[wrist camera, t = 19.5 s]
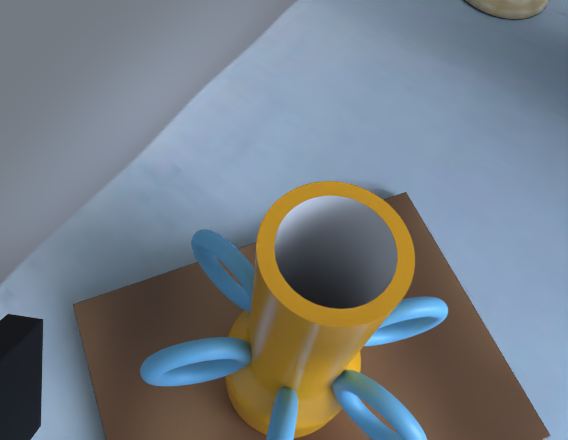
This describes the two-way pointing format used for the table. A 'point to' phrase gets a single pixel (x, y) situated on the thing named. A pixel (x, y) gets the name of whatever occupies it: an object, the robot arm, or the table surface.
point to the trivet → (374, 359)
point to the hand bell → (510, 7)
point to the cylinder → (309, 315)
